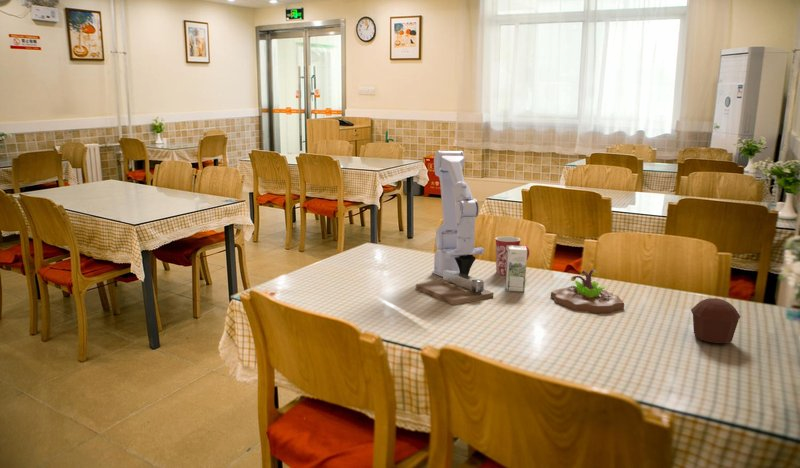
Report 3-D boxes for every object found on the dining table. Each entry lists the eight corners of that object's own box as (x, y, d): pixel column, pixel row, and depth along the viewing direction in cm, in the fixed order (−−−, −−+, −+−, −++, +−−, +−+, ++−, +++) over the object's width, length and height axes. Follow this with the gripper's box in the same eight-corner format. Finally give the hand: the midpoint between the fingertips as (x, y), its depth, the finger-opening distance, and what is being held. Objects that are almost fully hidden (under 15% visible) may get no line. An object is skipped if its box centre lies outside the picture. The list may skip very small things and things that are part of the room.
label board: (415, 288, 192) (416, 282, 191) (454, 282, 200) (454, 276, 200) (452, 304, 175) (452, 298, 175) (493, 297, 183) (493, 291, 183)
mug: (489, 275, 209) (490, 238, 207) (500, 270, 217) (502, 235, 214) (521, 281, 202) (523, 243, 200) (532, 276, 209) (534, 239, 207)
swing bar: (485, 291, 181) (485, 281, 181) (476, 292, 179) (476, 282, 179) (450, 278, 196) (451, 268, 196) (442, 279, 194) (442, 270, 194)
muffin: (694, 326, 160) (698, 291, 158) (740, 336, 153) (745, 299, 151) (683, 338, 151) (687, 301, 149) (731, 349, 144) (736, 310, 142)
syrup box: (522, 287, 195) (525, 245, 192) (524, 292, 189) (527, 249, 186) (505, 287, 195) (507, 244, 192) (507, 292, 189) (509, 248, 187)
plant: (575, 315, 168) (578, 278, 166) (542, 296, 187) (544, 262, 185) (635, 311, 173) (638, 274, 171) (597, 292, 192) (600, 259, 190)
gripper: (455, 241, 182) (454, 283, 184) (490, 237, 189) (489, 277, 192) (442, 237, 187) (440, 278, 190) (477, 233, 195) (475, 272, 198)
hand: (464, 277), depth 191 cm, fingers closed
